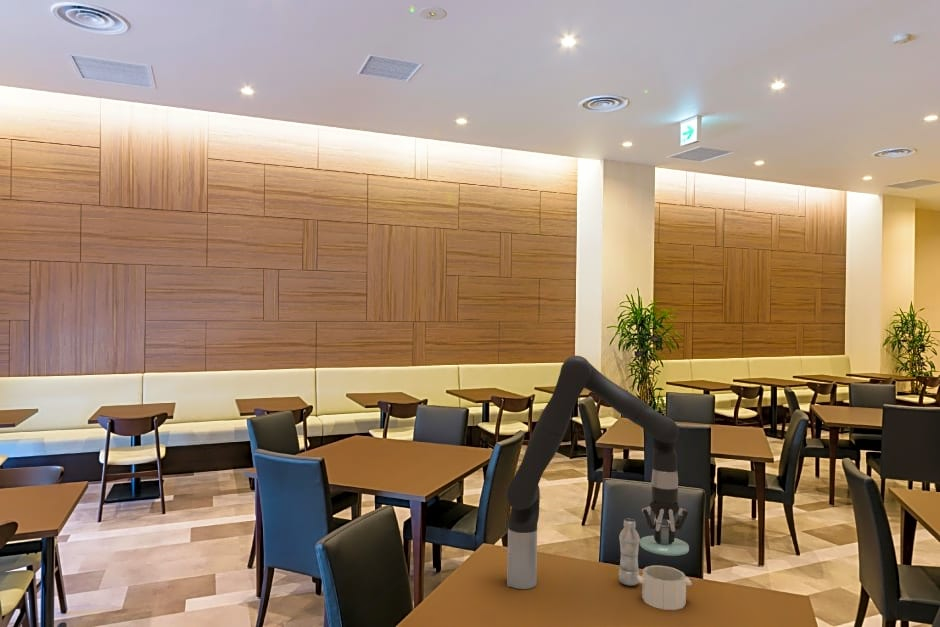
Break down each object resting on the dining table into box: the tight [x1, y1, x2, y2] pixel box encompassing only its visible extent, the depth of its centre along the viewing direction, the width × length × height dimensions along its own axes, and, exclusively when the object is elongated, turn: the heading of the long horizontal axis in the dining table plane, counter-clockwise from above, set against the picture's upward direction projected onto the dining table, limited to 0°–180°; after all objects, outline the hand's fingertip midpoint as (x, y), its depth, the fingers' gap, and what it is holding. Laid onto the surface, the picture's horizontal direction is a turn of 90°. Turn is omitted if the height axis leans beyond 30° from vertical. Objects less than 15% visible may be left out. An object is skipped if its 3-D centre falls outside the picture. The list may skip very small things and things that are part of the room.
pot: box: [637, 564, 693, 611], centre depth 182 cm, size 15×12×8 cm
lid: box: [639, 524, 690, 557], centre depth 182 cm, size 14×14×6 cm
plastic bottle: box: [618, 518, 641, 587], centre depth 193 cm, size 6×7×20 cm
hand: (664, 542), depth 182 cm, fingers closed on lid, 3 cm apart
